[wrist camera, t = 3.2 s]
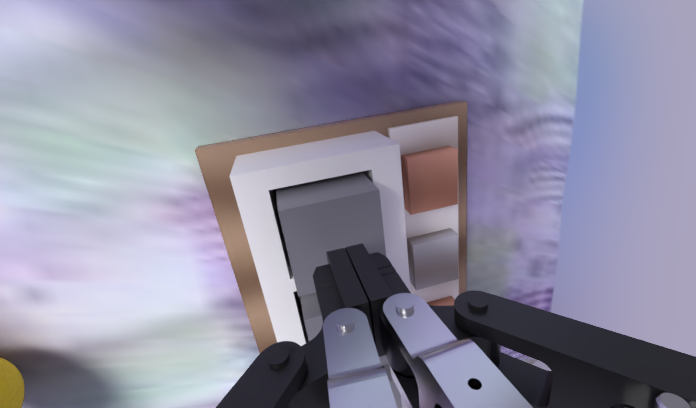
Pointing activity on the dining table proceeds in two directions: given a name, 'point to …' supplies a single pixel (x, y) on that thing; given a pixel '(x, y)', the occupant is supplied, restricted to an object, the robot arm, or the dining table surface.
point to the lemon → (10, 385)
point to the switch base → (418, 193)
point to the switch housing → (302, 167)
